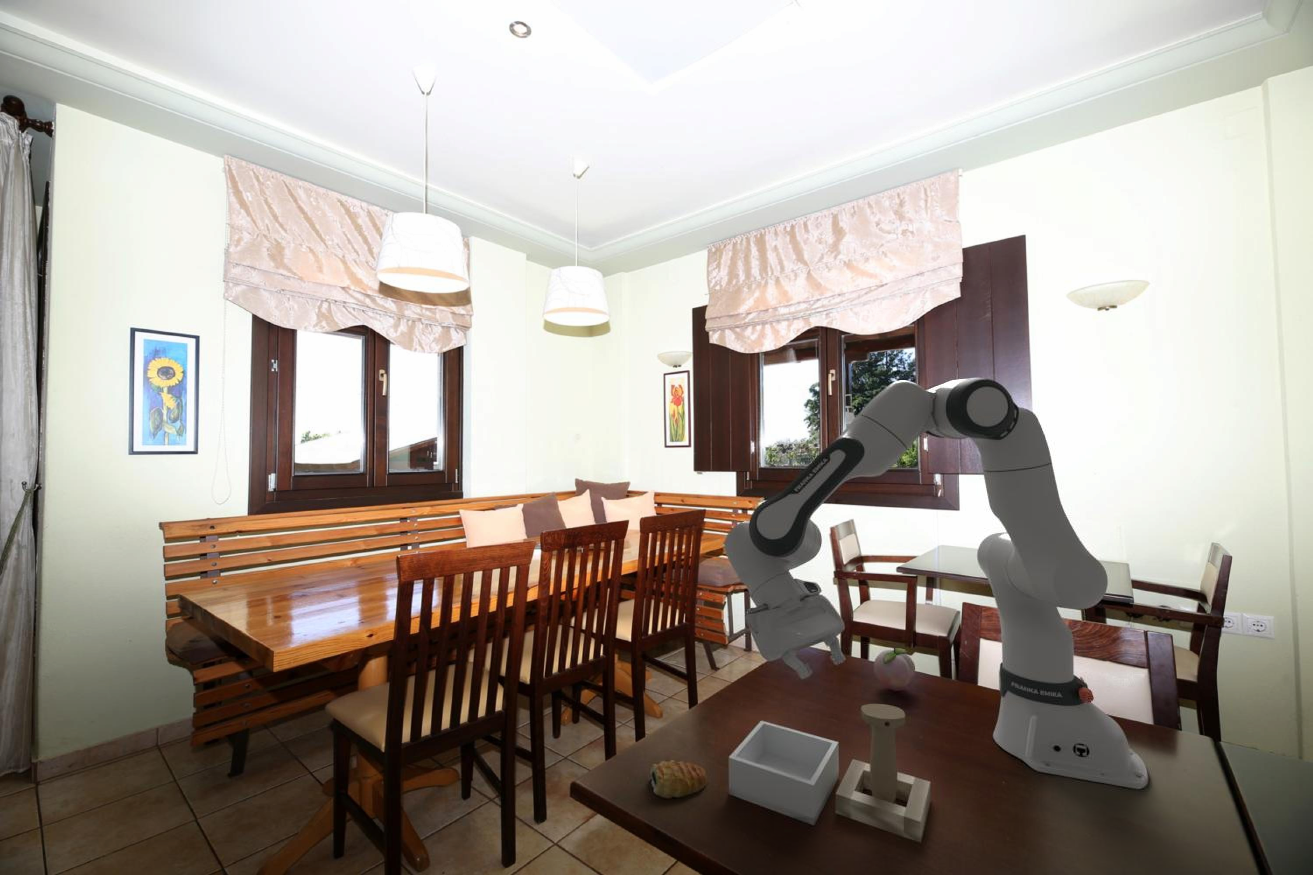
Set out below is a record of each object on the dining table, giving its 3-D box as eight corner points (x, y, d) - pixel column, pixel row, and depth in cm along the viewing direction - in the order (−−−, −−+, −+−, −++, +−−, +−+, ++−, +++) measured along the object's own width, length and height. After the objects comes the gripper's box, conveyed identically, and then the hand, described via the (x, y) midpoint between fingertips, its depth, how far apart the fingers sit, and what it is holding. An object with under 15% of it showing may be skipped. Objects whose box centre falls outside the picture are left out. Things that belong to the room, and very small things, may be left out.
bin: (838, 777, 95) (838, 742, 95) (814, 825, 84) (813, 785, 84) (761, 752, 103) (761, 720, 103) (729, 793, 91) (728, 757, 91)
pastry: (699, 770, 98) (699, 749, 98) (712, 794, 91) (712, 771, 91) (647, 778, 96) (647, 756, 96) (656, 804, 89) (656, 780, 89)
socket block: (930, 800, 89) (930, 781, 89) (920, 842, 80) (920, 821, 80) (853, 776, 95) (852, 758, 95) (835, 812, 86) (835, 793, 86)
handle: (910, 818, 85) (909, 719, 85) (866, 815, 86) (865, 717, 86) (900, 798, 90) (899, 705, 90) (859, 795, 90) (858, 702, 90)
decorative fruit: (883, 678, 134) (883, 637, 134) (919, 688, 128) (919, 645, 128) (867, 691, 127) (867, 647, 127) (904, 703, 122) (904, 657, 122)
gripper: (750, 601, 96) (796, 676, 88) (823, 581, 108) (869, 646, 101) (731, 620, 100) (774, 694, 92) (804, 599, 112) (847, 663, 104)
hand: (824, 669), depth 96 cm, fingers open, 8 cm apart
